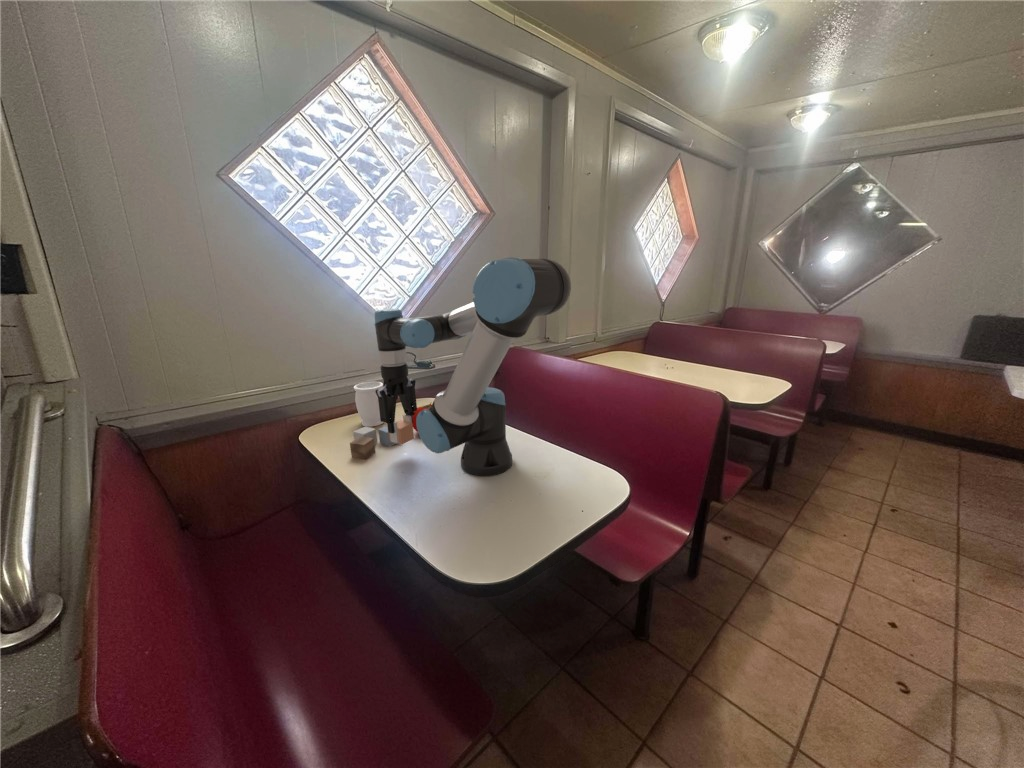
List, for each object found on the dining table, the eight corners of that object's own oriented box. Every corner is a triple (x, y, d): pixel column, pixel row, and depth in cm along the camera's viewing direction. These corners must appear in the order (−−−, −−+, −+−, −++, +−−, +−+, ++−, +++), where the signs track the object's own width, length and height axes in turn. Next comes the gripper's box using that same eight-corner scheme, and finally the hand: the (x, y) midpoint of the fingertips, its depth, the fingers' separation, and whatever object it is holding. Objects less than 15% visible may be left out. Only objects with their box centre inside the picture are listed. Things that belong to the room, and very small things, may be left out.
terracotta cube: (413, 438, 121) (412, 423, 120) (401, 444, 117) (400, 428, 116) (402, 435, 124) (400, 420, 122) (389, 441, 119) (388, 425, 118)
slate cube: (401, 441, 133) (399, 428, 132) (388, 446, 130) (386, 432, 128) (392, 438, 136) (391, 424, 135) (379, 442, 133) (378, 428, 131)
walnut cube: (375, 452, 126) (373, 438, 124) (365, 459, 121) (363, 444, 120) (361, 451, 127) (359, 436, 126) (351, 457, 122) (349, 443, 121)
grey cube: (377, 442, 133) (375, 429, 131) (365, 448, 129) (363, 434, 127) (367, 439, 135) (365, 426, 134) (355, 445, 131) (353, 431, 130)
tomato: (451, 434, 138) (449, 407, 135) (414, 440, 134) (412, 412, 131) (444, 423, 148) (442, 397, 145) (410, 429, 144) (407, 402, 141)
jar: (359, 419, 153) (354, 382, 149) (387, 416, 156) (383, 380, 152) (357, 429, 143) (352, 390, 139) (387, 426, 146) (383, 387, 142)
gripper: (407, 356, 123) (414, 426, 129) (359, 369, 108) (369, 447, 114) (425, 358, 119) (431, 430, 126) (378, 371, 105) (388, 452, 111)
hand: (402, 438), depth 120 cm, fingers closed on terracotta cube, 5 cm apart
